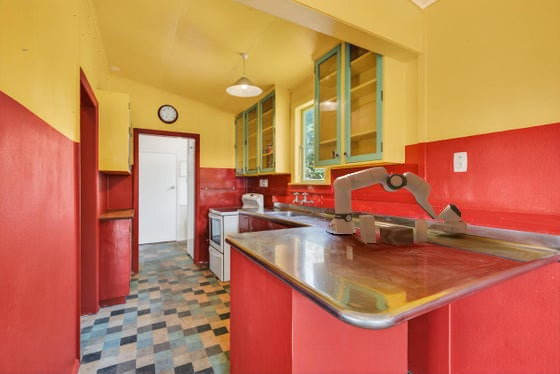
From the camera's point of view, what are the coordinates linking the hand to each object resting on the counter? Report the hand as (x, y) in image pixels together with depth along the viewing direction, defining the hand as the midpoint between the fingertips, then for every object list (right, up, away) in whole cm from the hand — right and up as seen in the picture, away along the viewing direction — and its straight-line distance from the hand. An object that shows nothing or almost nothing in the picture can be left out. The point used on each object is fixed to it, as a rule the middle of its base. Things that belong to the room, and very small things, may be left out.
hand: (435, 228), depth 145 cm
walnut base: (-25, -7, -5) cm, 26 cm away
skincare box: (-40, -8, -2) cm, 41 cm away
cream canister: (-10, -6, -4) cm, 13 cm away
